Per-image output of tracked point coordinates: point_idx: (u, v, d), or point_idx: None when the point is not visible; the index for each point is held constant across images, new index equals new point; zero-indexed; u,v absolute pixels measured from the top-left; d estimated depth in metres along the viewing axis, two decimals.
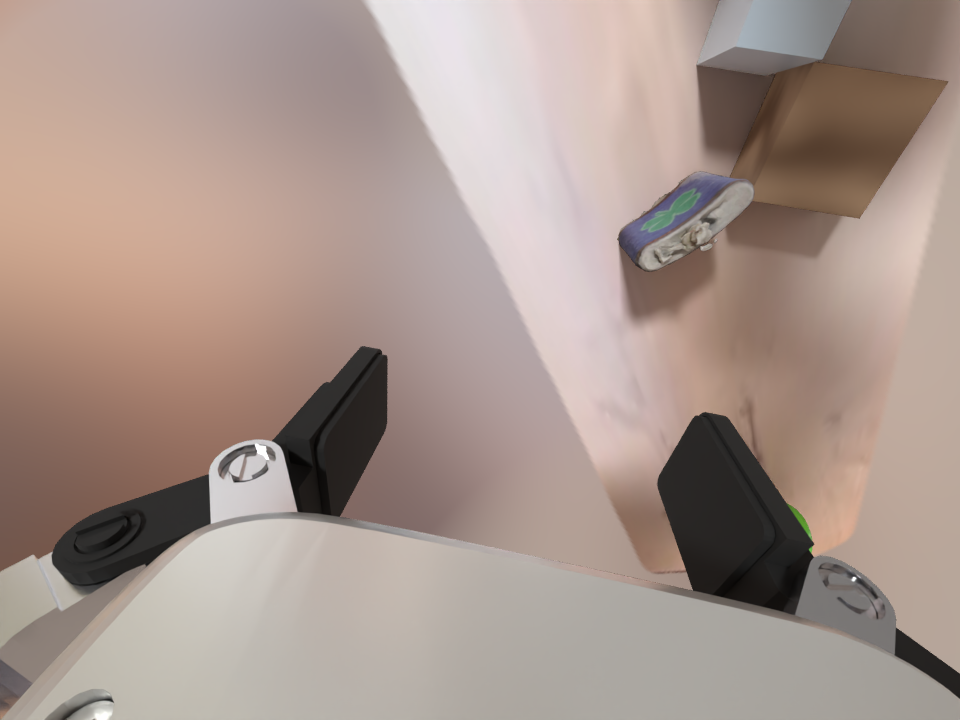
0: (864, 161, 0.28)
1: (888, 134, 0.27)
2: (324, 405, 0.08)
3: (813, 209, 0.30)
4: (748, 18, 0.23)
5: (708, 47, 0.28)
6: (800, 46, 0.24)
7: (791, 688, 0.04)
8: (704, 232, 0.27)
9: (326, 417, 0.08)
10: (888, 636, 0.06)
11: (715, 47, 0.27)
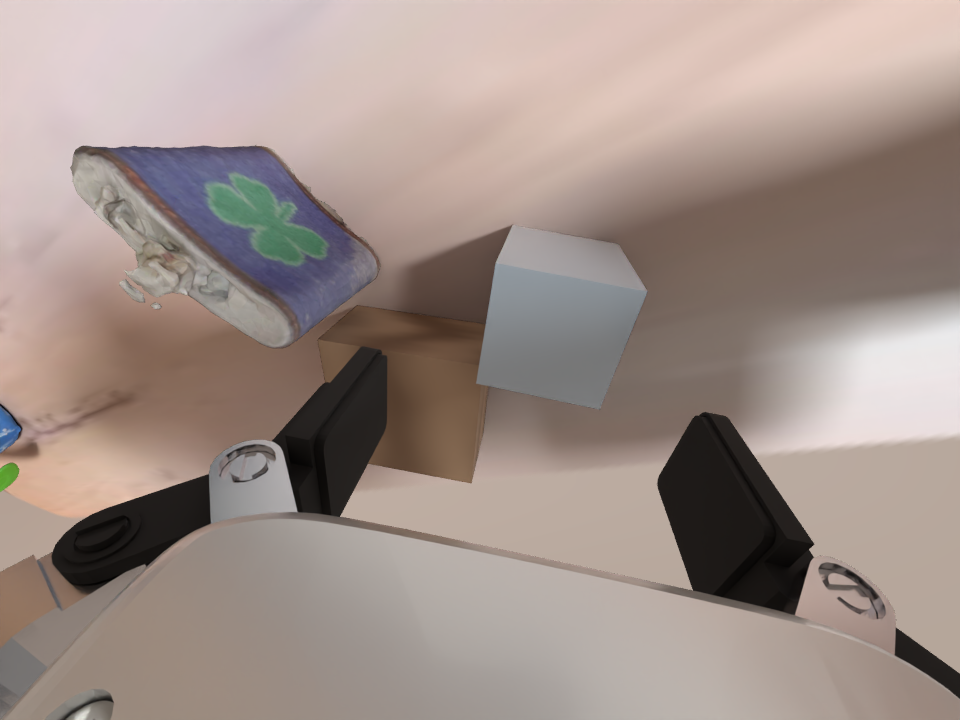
0: (392, 444, 0.23)
1: (420, 455, 0.23)
2: (324, 405, 0.08)
3: None
4: (532, 273, 0.14)
5: (527, 233, 0.18)
6: (491, 354, 0.16)
7: (791, 688, 0.04)
8: (154, 281, 0.12)
9: (327, 416, 0.08)
10: (888, 636, 0.06)
11: (519, 240, 0.17)
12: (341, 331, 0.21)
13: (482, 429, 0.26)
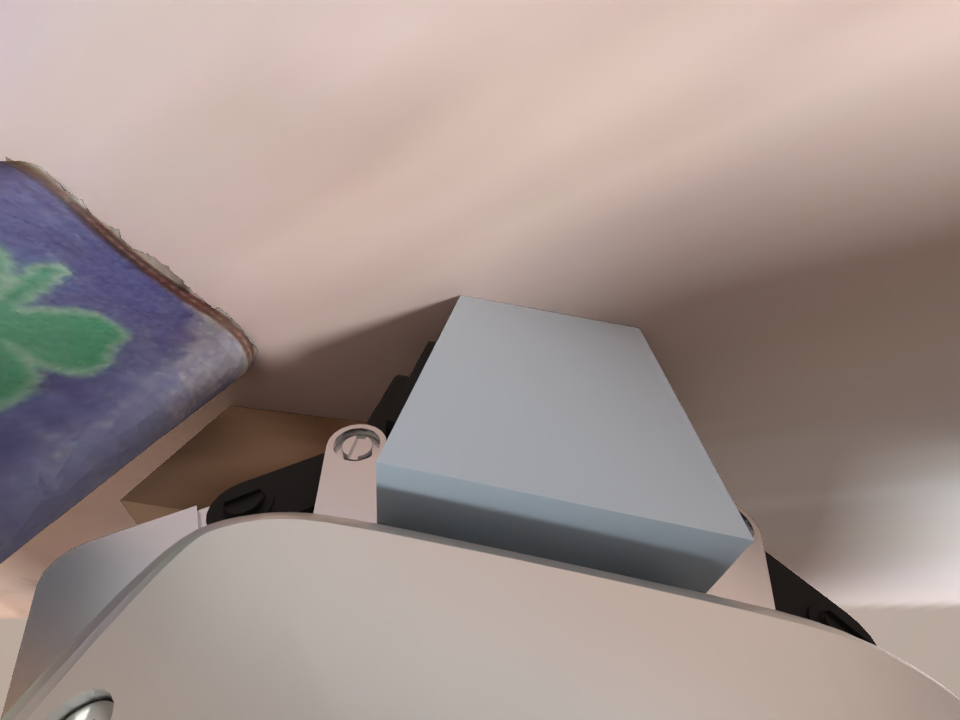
0: None
1: None
2: None
3: None
4: (465, 486, 0.06)
5: (481, 320, 0.10)
6: None
7: (791, 688, 0.04)
8: None
9: None
10: (760, 553, 0.07)
11: (461, 346, 0.09)
12: (174, 473, 0.12)
13: None
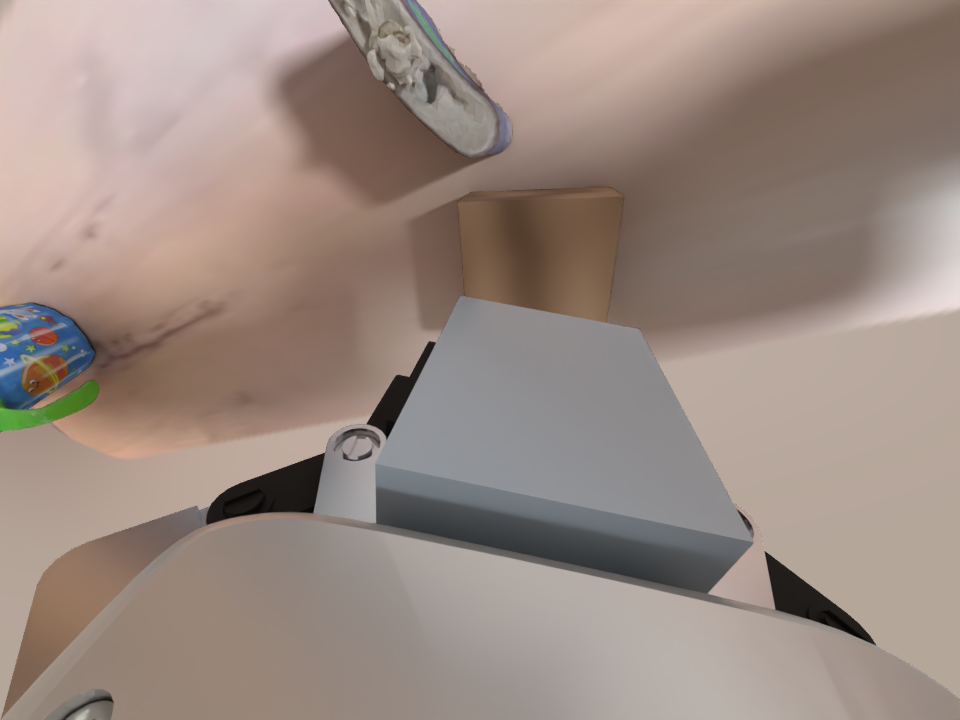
0: None
1: None
2: None
3: (465, 291, 0.23)
4: (465, 488, 0.06)
5: (481, 321, 0.10)
6: None
7: (791, 688, 0.04)
8: (402, 50, 0.13)
9: None
10: (760, 553, 0.07)
11: (460, 347, 0.09)
12: (473, 198, 0.22)
13: None
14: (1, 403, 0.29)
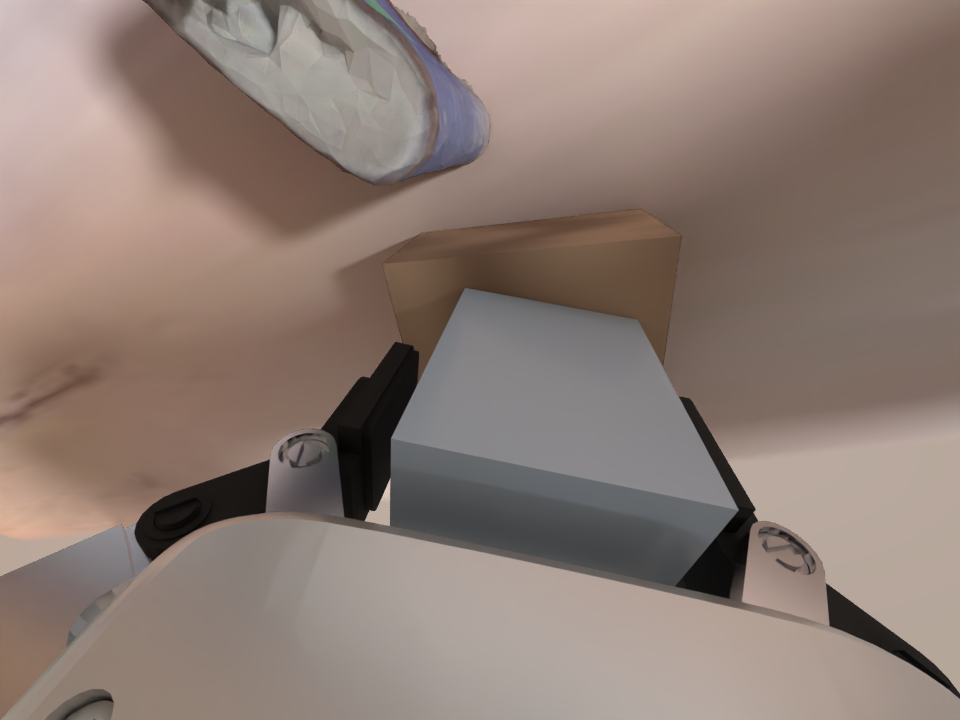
0: None
1: None
2: (369, 397, 0.09)
3: None
4: (473, 462, 0.06)
5: (485, 311, 0.11)
6: None
7: (791, 688, 0.04)
8: None
9: (372, 408, 0.08)
10: (820, 588, 0.06)
11: (466, 335, 0.09)
12: (414, 252, 0.13)
13: None
14: None
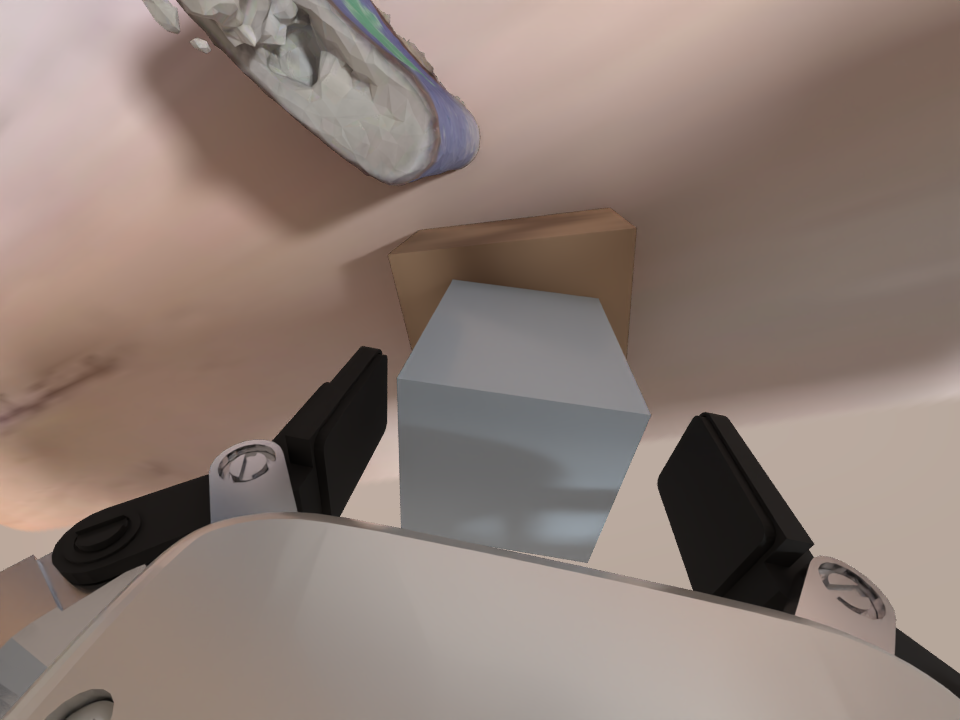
0: None
1: None
2: (324, 405, 0.08)
3: None
4: (458, 392, 0.08)
5: (469, 296, 0.13)
6: (416, 497, 0.10)
7: (791, 688, 0.04)
8: None
9: (327, 416, 0.08)
10: (888, 636, 0.06)
11: (453, 313, 0.11)
12: (414, 245, 0.15)
13: None
14: None
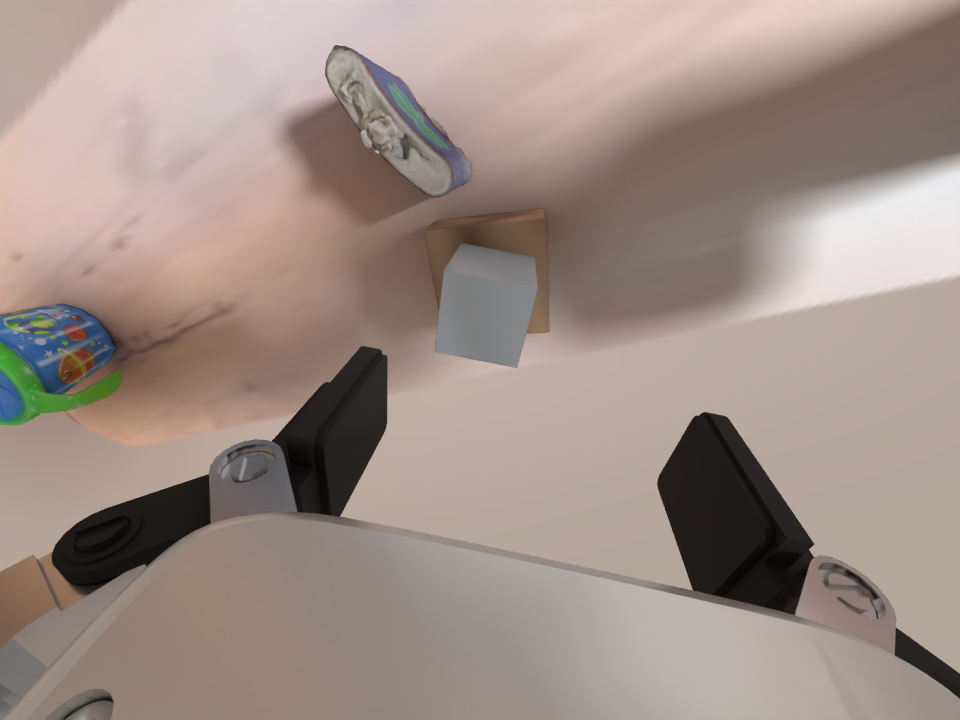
0: None
1: None
2: (324, 405, 0.08)
3: (437, 297, 0.30)
4: (466, 277, 0.22)
5: (470, 249, 0.26)
6: (444, 330, 0.24)
7: (791, 688, 0.04)
8: (384, 130, 0.19)
9: (326, 416, 0.08)
10: (888, 636, 0.06)
11: (463, 255, 0.25)
12: (436, 227, 0.28)
13: None
14: (43, 389, 0.34)
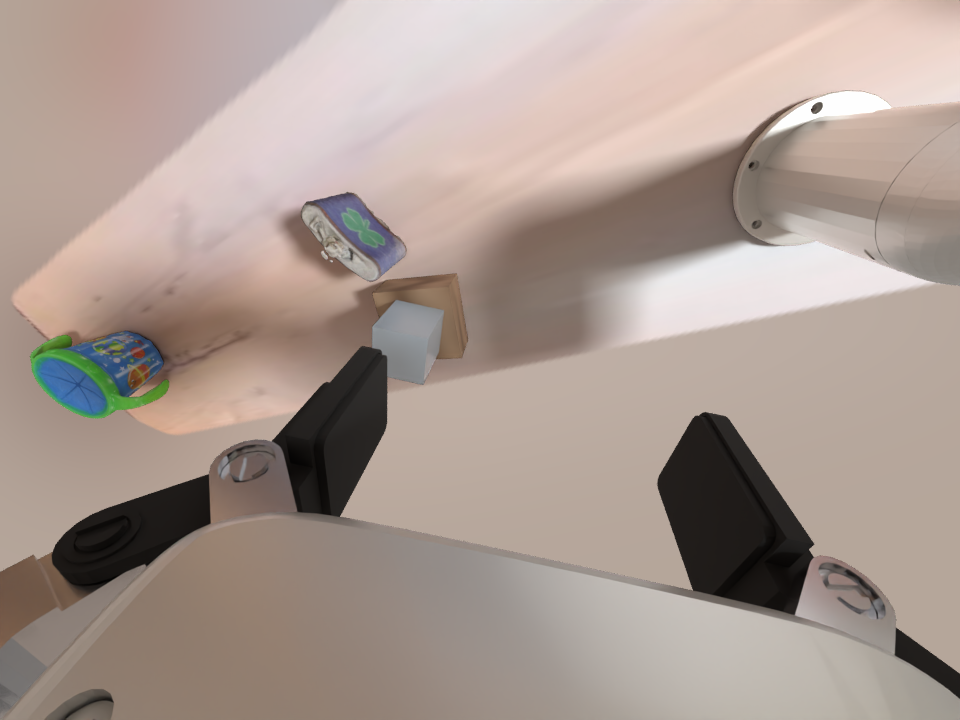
0: None
1: None
2: (324, 405, 0.08)
3: None
4: (386, 331, 0.36)
5: (399, 306, 0.40)
6: None
7: (791, 688, 0.04)
8: (334, 251, 0.34)
9: (326, 416, 0.08)
10: (888, 636, 0.06)
11: (391, 312, 0.39)
12: (381, 289, 0.42)
13: (465, 335, 0.47)
14: (119, 393, 0.50)
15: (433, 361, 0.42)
